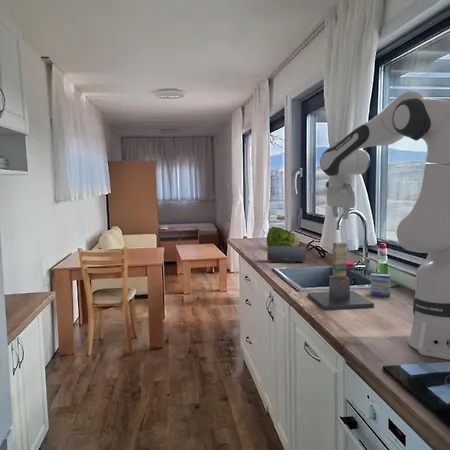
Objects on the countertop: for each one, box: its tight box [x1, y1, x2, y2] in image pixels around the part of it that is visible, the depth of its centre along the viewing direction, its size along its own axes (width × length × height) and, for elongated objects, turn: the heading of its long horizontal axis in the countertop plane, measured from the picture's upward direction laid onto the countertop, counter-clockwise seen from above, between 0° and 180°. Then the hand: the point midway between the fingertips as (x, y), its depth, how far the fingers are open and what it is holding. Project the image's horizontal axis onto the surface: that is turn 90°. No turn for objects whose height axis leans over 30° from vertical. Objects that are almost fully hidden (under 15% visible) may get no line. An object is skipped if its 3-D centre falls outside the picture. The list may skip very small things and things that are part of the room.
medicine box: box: [370, 273, 392, 297], centre depth 183 cm, size 8×4×9 cm, turn 70°
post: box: [332, 241, 348, 279], centre depth 172 cm, size 4×4×16 cm
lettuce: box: [266, 226, 300, 248], centre depth 308 cm, size 17×23×16 cm
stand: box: [307, 275, 375, 311], centre depth 173 cm, size 20×20×10 cm
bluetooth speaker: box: [266, 245, 307, 264], centre depth 260 cm, size 23×9×10 cm, turn 80°
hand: (340, 218), depth 171 cm, fingers open, 8 cm apart
